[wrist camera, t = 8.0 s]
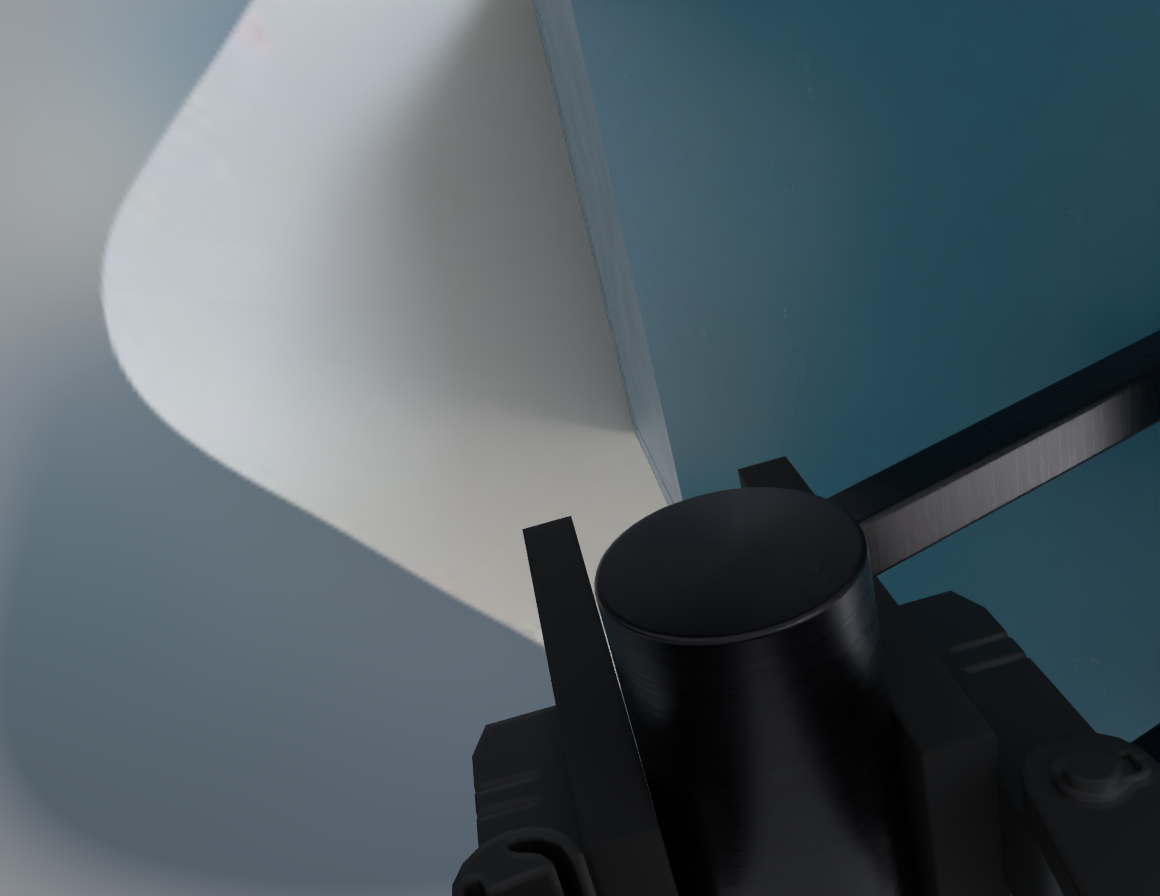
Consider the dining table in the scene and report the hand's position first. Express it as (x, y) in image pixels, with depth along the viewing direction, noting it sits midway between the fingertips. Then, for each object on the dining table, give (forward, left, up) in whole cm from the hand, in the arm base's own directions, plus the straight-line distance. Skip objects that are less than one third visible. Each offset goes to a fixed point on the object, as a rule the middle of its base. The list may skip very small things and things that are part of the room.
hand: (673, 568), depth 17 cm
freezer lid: (-4, -3, -3) cm, 6 cm away
